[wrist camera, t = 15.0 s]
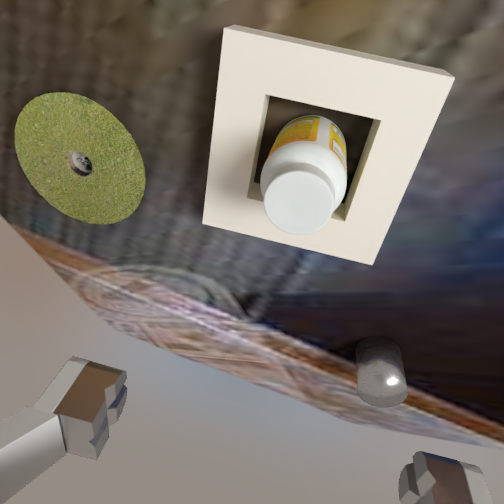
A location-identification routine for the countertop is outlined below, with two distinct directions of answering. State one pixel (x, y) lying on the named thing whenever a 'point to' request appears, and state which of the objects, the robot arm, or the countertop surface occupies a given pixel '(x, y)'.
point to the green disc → (80, 158)
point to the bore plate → (328, 96)
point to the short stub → (380, 372)
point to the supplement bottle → (304, 175)
